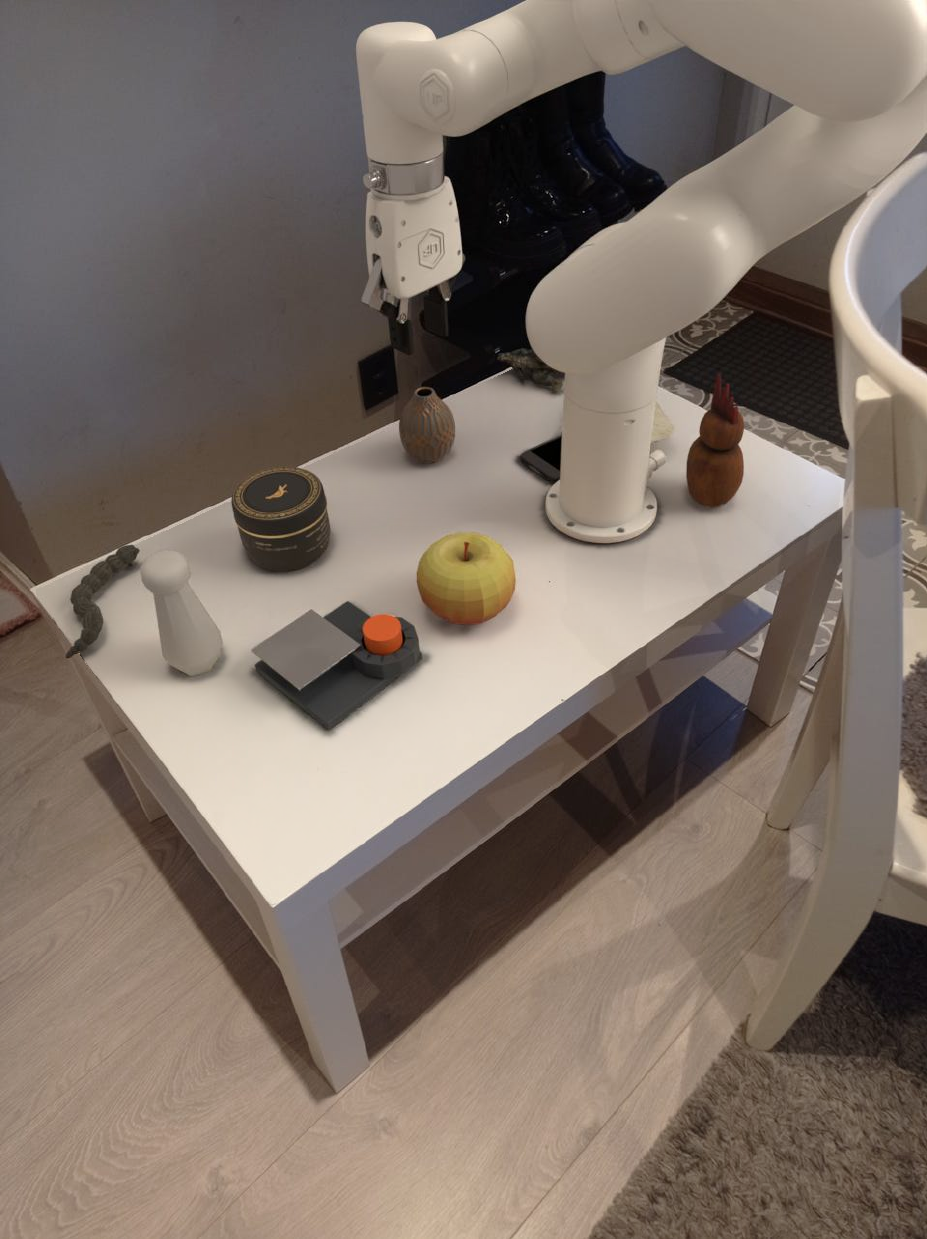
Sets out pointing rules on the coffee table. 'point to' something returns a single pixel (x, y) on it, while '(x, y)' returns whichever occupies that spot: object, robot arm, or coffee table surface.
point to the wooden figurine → (717, 452)
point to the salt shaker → (181, 614)
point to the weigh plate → (306, 649)
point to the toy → (91, 585)
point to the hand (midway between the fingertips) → (420, 340)
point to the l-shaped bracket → (349, 671)
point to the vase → (426, 426)
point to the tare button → (382, 634)
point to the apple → (466, 578)
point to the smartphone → (545, 459)
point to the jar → (282, 517)
